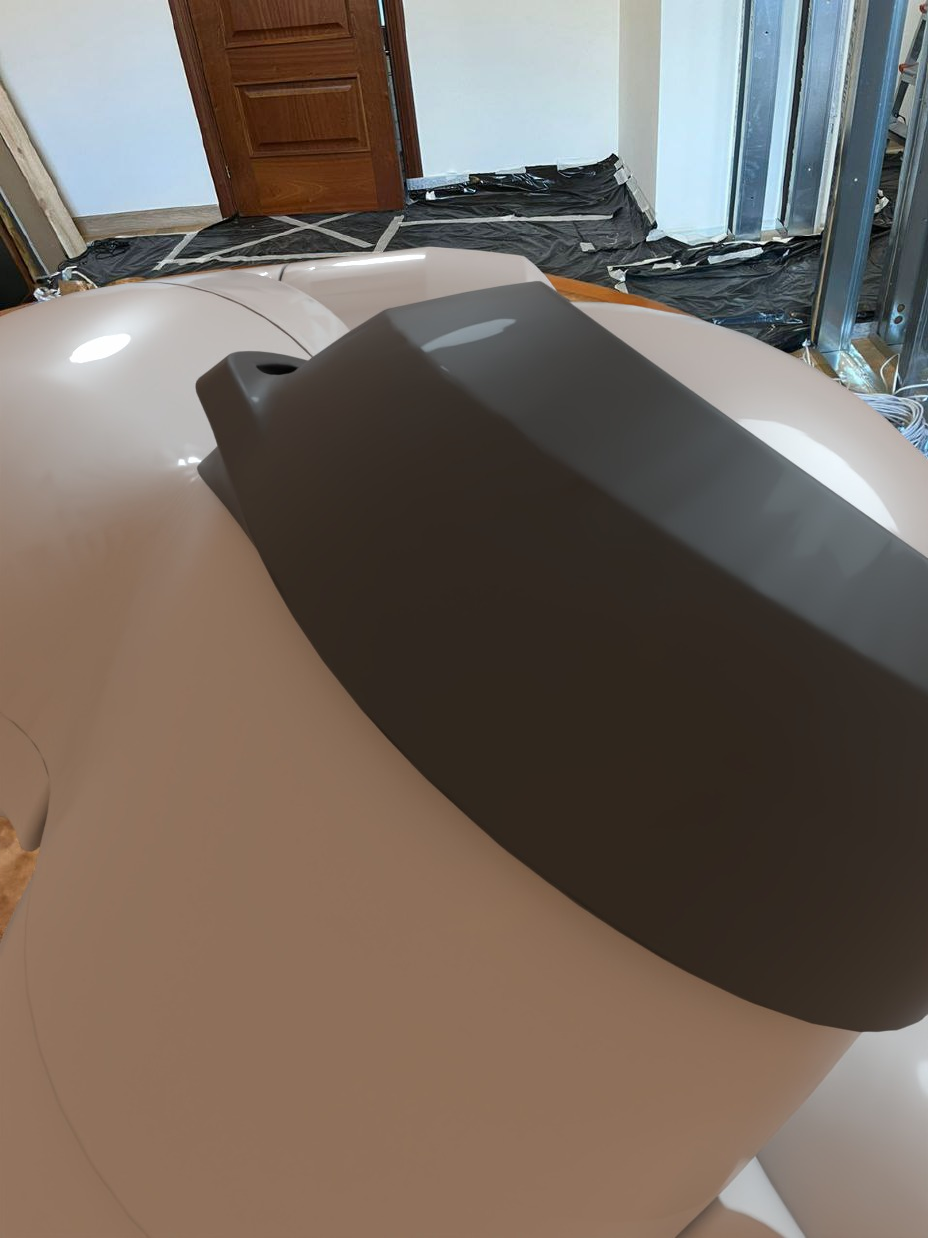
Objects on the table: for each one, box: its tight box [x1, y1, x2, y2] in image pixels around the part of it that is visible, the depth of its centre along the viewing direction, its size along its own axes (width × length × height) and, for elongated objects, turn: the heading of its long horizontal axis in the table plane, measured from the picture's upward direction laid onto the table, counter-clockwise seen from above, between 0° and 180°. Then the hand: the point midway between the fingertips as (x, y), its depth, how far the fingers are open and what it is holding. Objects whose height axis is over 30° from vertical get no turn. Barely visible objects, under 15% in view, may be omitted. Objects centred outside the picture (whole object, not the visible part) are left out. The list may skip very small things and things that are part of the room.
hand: (807, 634), depth 64 cm, fingers open, 8 cm apart
